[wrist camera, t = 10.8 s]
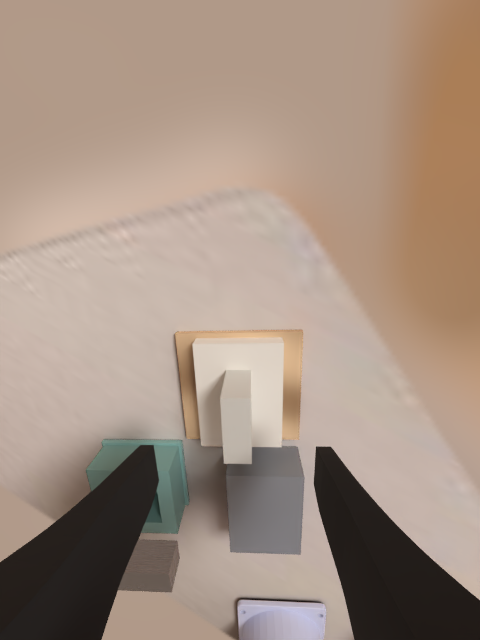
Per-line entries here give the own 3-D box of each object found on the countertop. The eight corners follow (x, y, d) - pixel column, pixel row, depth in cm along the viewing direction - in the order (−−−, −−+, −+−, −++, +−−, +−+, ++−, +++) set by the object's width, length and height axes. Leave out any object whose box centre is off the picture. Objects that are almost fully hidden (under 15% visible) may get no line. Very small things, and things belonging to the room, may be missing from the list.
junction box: (294, 517, 20) (300, 554, 18) (233, 516, 20) (230, 552, 18) (297, 446, 18) (304, 477, 16) (229, 446, 18) (225, 475, 16)
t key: (195, 463, 19) (167, 569, 12) (197, 486, 19) (172, 597, 13) (92, 462, 19) (17, 563, 13) (98, 484, 20) (28, 591, 14)
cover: (280, 436, 17) (287, 489, 14) (204, 435, 18) (190, 487, 14) (282, 337, 15) (291, 366, 12) (196, 338, 16) (177, 367, 12)
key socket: (189, 501, 20) (180, 535, 18) (117, 499, 20) (99, 533, 18) (181, 440, 18) (171, 468, 16) (103, 439, 19) (82, 467, 16)
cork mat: (297, 435, 18) (298, 439, 17) (188, 434, 18) (186, 438, 18) (301, 329, 16) (303, 331, 15) (176, 331, 16) (175, 333, 16)
